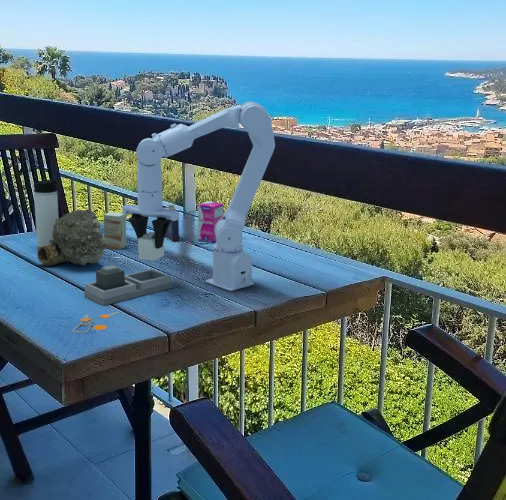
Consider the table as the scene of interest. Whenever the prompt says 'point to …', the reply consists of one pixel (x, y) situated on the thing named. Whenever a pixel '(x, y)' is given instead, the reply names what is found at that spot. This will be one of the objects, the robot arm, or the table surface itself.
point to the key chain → (86, 319)
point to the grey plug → (149, 247)
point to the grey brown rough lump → (74, 240)
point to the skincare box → (115, 230)
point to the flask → (173, 228)
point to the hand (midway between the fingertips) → (150, 246)
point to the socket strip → (130, 287)
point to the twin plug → (110, 278)
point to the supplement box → (208, 220)
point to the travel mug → (45, 210)
